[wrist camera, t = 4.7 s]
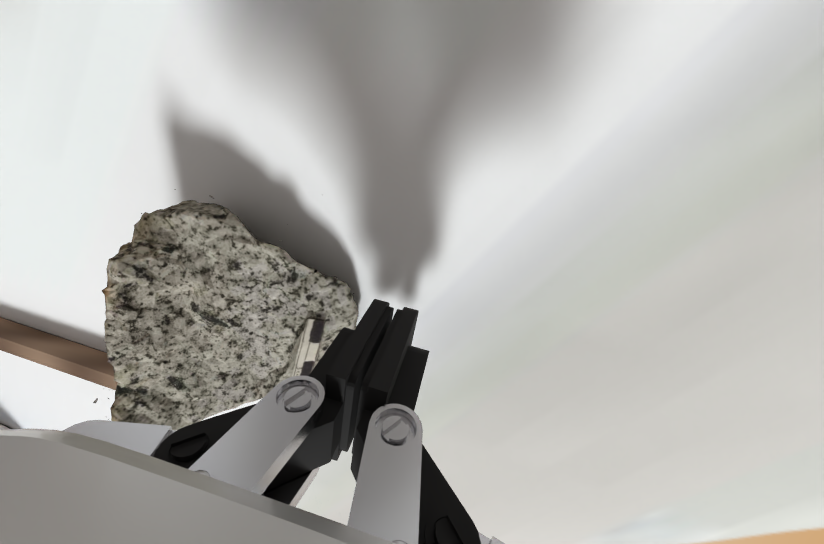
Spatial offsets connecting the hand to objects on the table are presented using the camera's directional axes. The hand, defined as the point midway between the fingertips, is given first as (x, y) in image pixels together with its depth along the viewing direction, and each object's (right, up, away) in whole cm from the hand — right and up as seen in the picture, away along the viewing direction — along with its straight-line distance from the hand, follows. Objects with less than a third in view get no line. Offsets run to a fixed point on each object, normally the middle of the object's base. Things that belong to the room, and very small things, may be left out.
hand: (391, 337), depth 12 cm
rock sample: (-6, +2, +3) cm, 7 cm away
